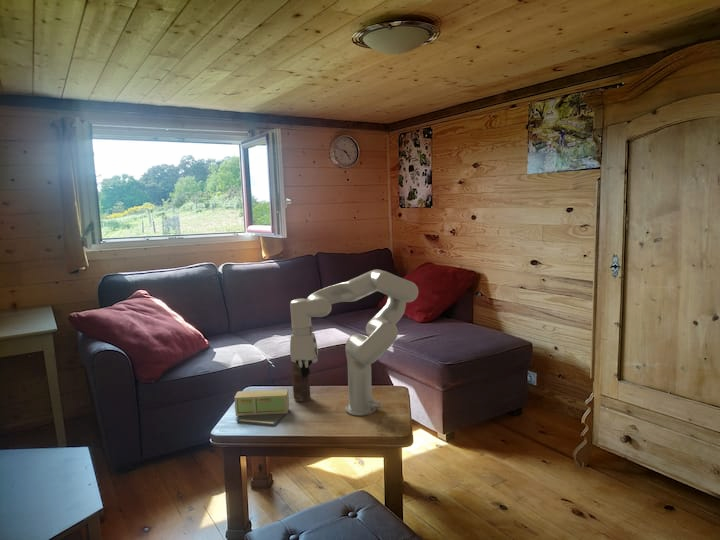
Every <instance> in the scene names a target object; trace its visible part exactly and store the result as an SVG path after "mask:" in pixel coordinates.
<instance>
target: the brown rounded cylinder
mask: <svg viewBox="0 0 720 540" xmlns="http://www.w3.org/2000/svg"><path fill="white" fill-rule="evenodd" d="M290 362H291V374H292V375H291V376H292V391H293V392H292V393H293V394H292V395H293V399H294V400H296V401H298V402H302V403H305V402H308V401H309V400H310V399H311V386H310V385H311V384H310V374H309V375H308V377H307V378H305V377H302V374H301V368H300V367H299V365H298V364H297V363H295V362H292V361H291V360H290ZM304 363H305V360H304Z"/></svg>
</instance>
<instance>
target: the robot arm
mask: <svg viewBox="0 0 720 540" xmlns="http://www.w3.org/2000/svg"><path fill="white" fill-rule="evenodd" d="M376 292H379V293H381V294H384V295H386V296H387V300H386V303H385V305H384V306H383V307H382V308H381V309H380V310H379V311H378V312H377V313H376V314H375V315H374V316H373V317H372V318H371V319H370V320H369V321H368V322H367V324H366V326H365V332H366V334H367V335H368V337H366V336H365V335H363V334H360V333H356V334H352V335H351V336H349V337H348V338H347V340H346V341H345V342H346V343H345V356H346V361H347V381H348V382H347V386H348V389H347V391H348V404H346V405H345V408H344V410H345V411H344V412H346V413H347V414H349V415H351V416H356V417H357V416H361V417H362V416H368V415H371V414H373V413H374V412H376V409H382V408H383V403H381V401H376V400H374V399H375V398H374V396H373V395H372V391H373V389H372V364H374V363H375V362H376V361H378V359H380V358H381V357H382V356H383V354H384V353H386V352H387V351H388V350H389V348H390V347H392V346H393V344H394V343H395V342H396V340H397V338H398V335H399V330H398V327H397V325H396V324H397V323H398V322H399V321H400V320H401V318H403V315H404V314H405V311H406V306H407V305H406V304H407V303H412V302H414V301H415V300H416V299H417V298H418V296H419V287H418V285H416V283H415V282H413V281H410V280H408V279H405V278H403V277H400V276H397V275H395V274H393V273H391V272H388V271H386V270H382V269H377V268H376V269H373V270H370V271H367V272H364V273H362V274H360V275H359V276H356V277H354V278H351V279H349V280H348V281H347V280H346V281H343V282H340V283H336V284H333V285H329V286H327V287H324V288H322V289H319V290H317V291H314V292H313V293H311V294H309V296H307V298H296V299H295V298H294V299H293V300H291V301H290V303H289V308H290V319H291V332H292V333H291V335H290V342H289V343H290V344H289V345H290V346H289V355H290V358H291V359H290V362H291V361H292V362H295V363H297V364H298V365H299V367H300V368H301V374H302V377H305V378H307V377H308V375H309V376H310V373H311V370H310V366H311V364H315V363H317V362H319V360H318V356H319V347H318V343H317V339H316V334H315V333H314V332H316V328H315V327H313V325H312V318H323V317H327V316H328V315H329V314H330V313H331V312H332V309H333V308H332V305H333V304H339V303H345V302H346V303H349V302H350V303H351V302H357V301H359V300H361V299H363V298H365V297H367V296H370V295H372V294H374V293H376ZM304 360H305V363H304ZM292 362H291V363H292Z"/></svg>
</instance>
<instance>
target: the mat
mask: <svg viewBox="0 0 720 540" xmlns="http://www.w3.org/2000/svg"><path fill="white" fill-rule="evenodd" d="M286 415H287V413H284V414H263V415H242V416H241V417H239V418H238V419H237V420H236V423H237V422H238V424H247V425H257V426H267V427H270V426H271V427H276V425H277V424H278V423H279V422H281V420H282V419H283V418H284V417H285V416H286Z"/></svg>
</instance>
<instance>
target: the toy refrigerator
mask: <svg viewBox="0 0 720 540" xmlns="http://www.w3.org/2000/svg"><path fill="white" fill-rule="evenodd" d="M289 409H290V397H289V389H286V388H284V389H283V388H282V389H266V390H265V389H260V390H241V391H237V392H236V393H235V395H234V411H235V416H237V417H239V416H241V417H242V416H243V415H263V414H284V413H286V414H288V413H289Z"/></svg>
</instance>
